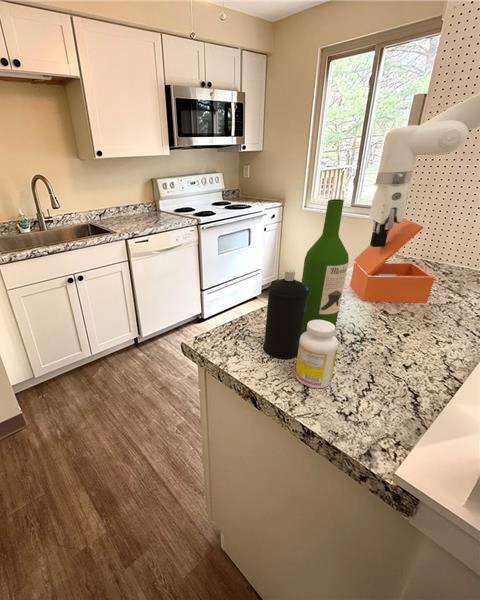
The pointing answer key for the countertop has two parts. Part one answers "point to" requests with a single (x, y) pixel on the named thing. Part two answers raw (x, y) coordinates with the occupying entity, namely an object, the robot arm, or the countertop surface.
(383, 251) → the orange box lid
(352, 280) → the orange hinged box
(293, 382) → the countertop surface
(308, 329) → the supplement bottle
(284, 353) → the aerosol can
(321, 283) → the wine bottle
